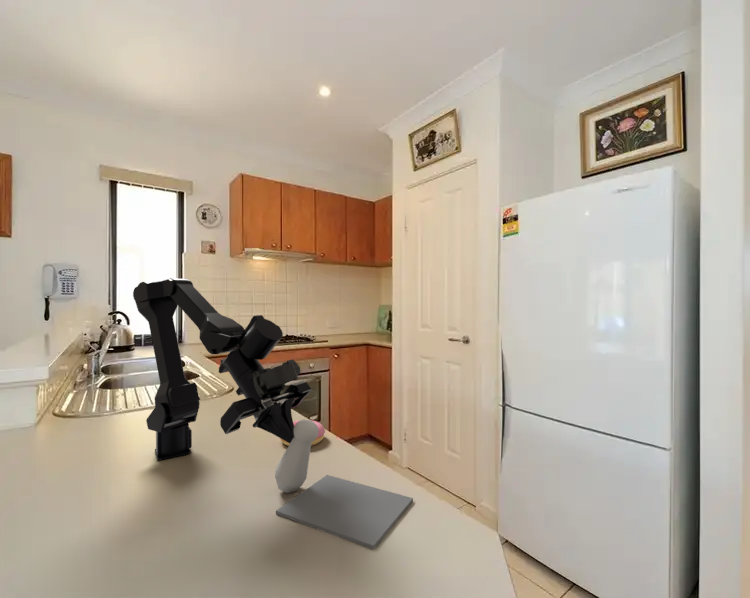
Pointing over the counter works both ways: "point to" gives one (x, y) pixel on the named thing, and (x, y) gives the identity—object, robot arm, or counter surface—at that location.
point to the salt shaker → (296, 457)
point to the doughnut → (319, 437)
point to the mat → (347, 510)
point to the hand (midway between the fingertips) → (294, 442)
